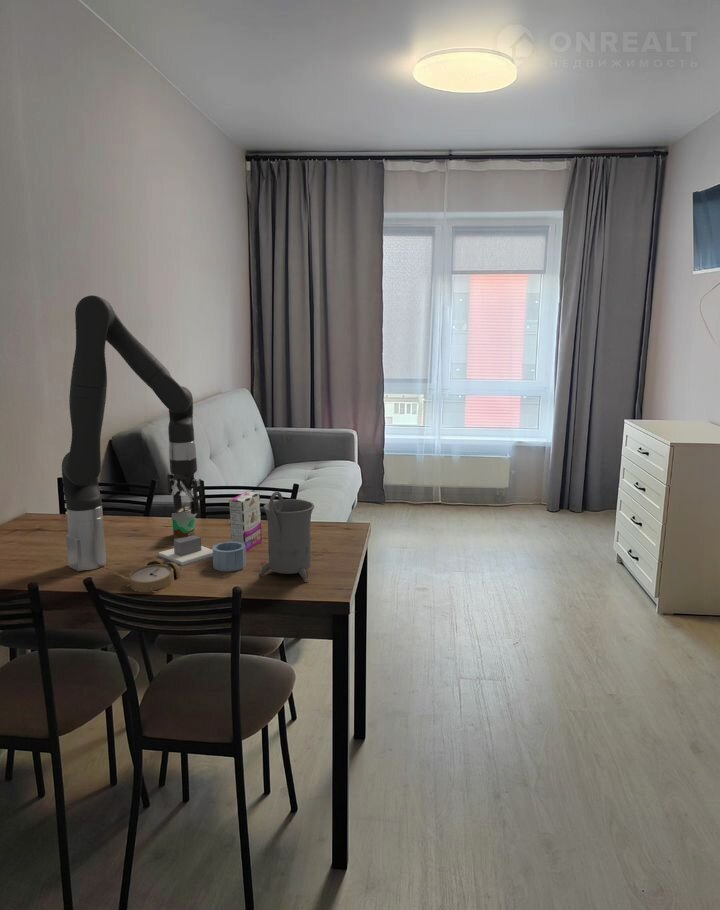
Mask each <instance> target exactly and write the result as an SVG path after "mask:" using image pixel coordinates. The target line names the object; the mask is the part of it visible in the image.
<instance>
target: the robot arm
mask: <svg viewBox="0 0 720 910" xmlns="http://www.w3.org/2000/svg"><path fill="white" fill-rule="evenodd" d="M74 316H75V321H74V322H75V351H74V356H73V363H72V367H71V368H72V369H71V378H70V387H69V395H68V396H69V417H70V423H71V442H70V449H69V451H68V453H66V454H65V456H63V459H62V460H61V475H62V478H61V479H62V484H63V494H64V499H65V506H66V514H67V515H66V517H67V527H68V528H67V529H68V530H67V531H68V533H67V534H66V535H65V540H66V551H67V552H66V553H67V562H68V563H67V564H68V567H69V568H71V569H73V570H75V571H77V572H82V571H91V570H95V569H99V568H102V567H104V565H105V564H106V563H107V555H106V544H105V543H106V542H105V541H106V540H105V529H104V528H105V527H104V518H103V517H104V516H103V515H104V514H103V502H102V501H103V500H102V495H101V492H100V487H99V477H100V474H101V470H102V460H101V436H102V435H101V434H102V427H103V423H104V415H105V408H106V401H107V390H108V389H107V388H108V387H107V386H108V373H107V364H106V353H105V352H106V342H107V343H108V344H109V345H111V347H113V349H114V350H115V351H116V352H117V353H118V354H119V355H120V356H121V358H122V359H123V360H124V361H125V363H126V364H127V365H128V367H130V369H131V370H132V371H133V372H134V373H135V374H136V375H137V376H138V377H139V379H141V380H142V382H143V383H145V385H147V387H149V388H150V389H151V390H152V391H153V393H154V394H155V395H156V397H158V399H159V400H160V402H161V403H162V404H163V405H164V407H166V408H167V409H168V413H169V415H168V416H169V417H168V418H169V422H168V427H167V428H168V460H169V468H170V469H169V471H170V473H167V476H166V477H167V493H168V494H171V497H172V498H173V508H174V509H175V510H178V509H180V508H181V507H182V504H183V503H182V492H183V493H185V496H187V497H188V498H189V501H190V502H189V504H190V507H191V514H197V515H198V514H199V512H200V509H199V505H200V504H199V501H201V500H204V493H203V492H204V491H203V489H204V488H203V481H202V478H197V479H196V478H195V474H196V473H197V471H198V466H197V465H198V463H197V460H198V459H197V450H196V449H197V448H196V444H195V432H194V422H193V421H194V420H193V418H194V417H193V416H194V401H193V395H192V392H191V391H190V390H189V388H187V387H186V386H181V385H180V384H179V383H178V382H177V381H176V380H175V378H173V376H171V373H170V371H169V370H168V369H167V368H166V366H165V365H164V364H163V363H162V362H161V361H160V360H159V359H158V358H157V357H156V356H155V355H154V354H153V353H152V352H151V351H150V350H149V349H148V348H146V347H145V346H144V345H143V344H142V343H141V342H140V341H139V340H138V339H137V337H136V336H134V335H133V333H131V331H129V329H128V328H127V327H126V325H124V323H123V322H122V321H121V319H120V318H119V316H118V315H117V313H116V312H115V310H114V309H113V306H112V305H111V304H110V303H109V301H107V300H106V299H105V298H103V297H100V296H97V295H87V296H84V297H83V298H81V299H80V300H79V301H78V303H77V304H76V307H75V311H74Z"/></svg>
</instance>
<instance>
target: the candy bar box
mask: <svg viewBox="0 0 720 910" xmlns="http://www.w3.org/2000/svg"><path fill="white" fill-rule="evenodd" d="M228 503H229V504H228V505H229V522H230V538H231V539H230V542H231V541H232V542H241V543H243V544H245V546H246V553H247V552H248V551H249V550H251V549H253V548H254V547H256V546H258V545H261V544H262V543H263V540H262V539H263V537H262V535H263V534H262V520H261V519H262V518H261V515H262V514H261V495H260V492H256V491H245V492H243V493H241V494H239V495H237V496H235V497H233V498H231V499H230V500H228Z"/></svg>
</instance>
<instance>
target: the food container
mask: <svg viewBox="0 0 720 910" xmlns="http://www.w3.org/2000/svg"><path fill="white" fill-rule="evenodd" d="M197 515H198V513H197V514H191V507H190V503H189V504H188V503H182V507H181V508H179V509H176V512H175V513H174V512H173V513H171V522H172V530H173V541H174V540H178V539H181V538H185V537H189V536H192V535H195V531H196V530H195V528H196V527H195V525H196V516H197Z"/></svg>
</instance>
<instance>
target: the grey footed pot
mask: <svg viewBox="0 0 720 910" xmlns="http://www.w3.org/2000/svg"><path fill="white" fill-rule="evenodd" d="M275 497H278V499H277V500H275ZM314 509H315V504H314V503H313V502H311V501H308V500H304V499H296V498H292V499H291V498H290V499H289V498H287V499H284V498H283V495H282V493H281V492H280V491H277V490H276V491H274V492H273V493H272V494H271V495H270V498H269V502H266V503H265V504H264V505H263V510H264V512H265V514H266V517H267V518H266V520H267V537H268V538H267V541H268V562H267V563H265V564H264V565H263V566H262V568H261V571H260V572H259V573H258V575H259V576H263V575H265V574H266V573H267V571H272V572H274V573H277V574H278V573H279V574H286V575H287V574H289V575H290V574H298V575H299V576H301V578H302V580H303V581H304V582H305V581H306V582H307V581H308V582H309V580H308V574H307V571H308V570H309V569H310V568H311V566H312V549H311V546H312V544H311V541H312V540H311V539H312V538H311V537H312V536H311V535H312V534H311V520H312V513H313V510H314ZM306 582H305V583H306ZM308 582H307V583H308Z"/></svg>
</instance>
